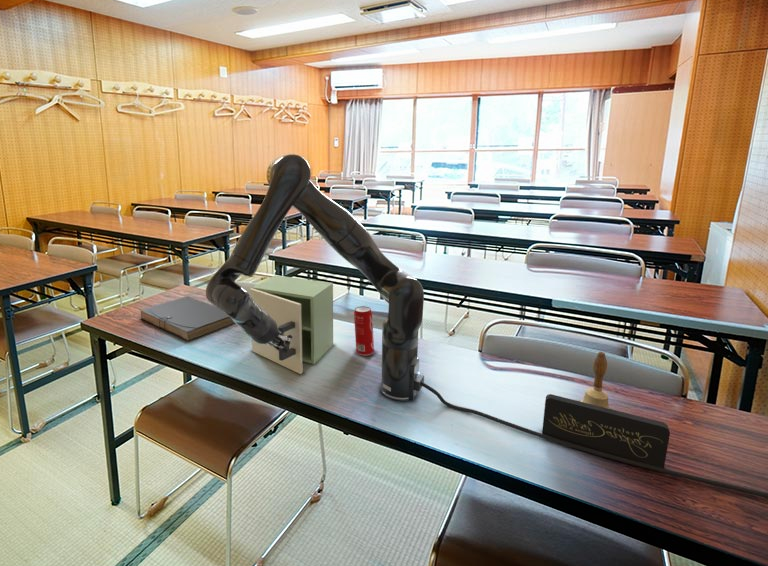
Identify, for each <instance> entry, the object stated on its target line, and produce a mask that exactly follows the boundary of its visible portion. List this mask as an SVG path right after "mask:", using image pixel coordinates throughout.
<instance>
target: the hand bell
mask: <svg viewBox="0 0 768 566" xmlns="http://www.w3.org/2000/svg"><path fill="white" fill-rule="evenodd" d="M607 369H608V361H607V358H606V353H605V352H604V351H598V352H597V355H596V357H594V361H593V373H594V380H593V387H590V388H589V387H588V388H587V389H586V390H585V392H584V395H583V397H582V399H581V400H579V401H580V402H584V403H588V404H592V405H596V406H600V407H604V408H608V409H611V407H610V403H609V395H608V393H606V391H603V379H604V376H605V374H606V373H607Z"/></svg>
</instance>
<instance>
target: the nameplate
mask: <svg viewBox="0 0 768 566" xmlns="http://www.w3.org/2000/svg"><path fill="white" fill-rule="evenodd" d="M580 401H581V400H576V399H572V398H568V397H565V396H560V395H556V394H552V393H550V394H547V395H546V396H545V401H544V409H543V420H542V427H541V428H542V430H541V433H542V434H545V435H548V436H551V437H554V438H557V439H560V440H564V441H567V442H570V443H573V444H577V445H580V446H583V447H587V448H590V449H594V450H597V451H601V452H604V453H608V454H612V455H615V456H619V457H623V458H626V459H630V460H634V461H638V462H642V463H646V464H649V465H653V466H656V467H660V468H665V466H666V465H665V464H666V459H667V454H668V448H669V442H670V441H669V440H670V437H671V431H670V428H669V426H668V424H667V423H666V422H664V421H660V420H656V419H652V418H647V417H644V416H640V415H636V414H632V413H627V412H625V411H620V410H616V409H612V408H610V409H608V408H604V407H600V406H596V405H592V404H588V403H584V402H580ZM652 471H653V472H655V471H654V470H652ZM657 472H658V471H656V473H657ZM658 473H659V472H658Z"/></svg>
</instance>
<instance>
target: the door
mask: <svg viewBox="0 0 768 566" xmlns="http://www.w3.org/2000/svg"><path fill="white" fill-rule="evenodd" d="M249 294H250V295H251V297H252V299H253V300H254V301H255V302H256V303H257V304H258V305H259V306H260V307H261V308H262V309H264V310H265V311H266V312H267V313H268V314H269V315H270V316H271V317H272V318H273V319H274V320H275V322H276V323H277V327H278V330H279V331H280V332H281V333H282V334H283V336H285V337H286V336H288V335H291V336H292V340H291V343H290V345H289V346H290V347H289V350H288V351H287V352H284V351H283V350H282V349H281V348H279V351H278V350H277V349H275V348H274V347H273V346H270V345H268V344H259V343H257V342H255V341H254V340H253V339H252V338H251V345H252V346H251V349H252V350H251V351H252V352H253V353H255V354H257V355H259V356H261V357H264V358H265V359H268V360H270V361H272V362H273V363H276V364H278V365H281V366H282V367H284V368H287V369H288V370H291V371H293V372H295V373H297V374H299V375H302V374H303V371H304V370H303V361H302V321H301V304H300V303H297V302H294V301H291V300H287V299H284V298H281V297H278V296H275V295H272V294H269V293H266V292H262V291H259V290H256V289H253V288H252V287H251V288H249Z"/></svg>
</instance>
